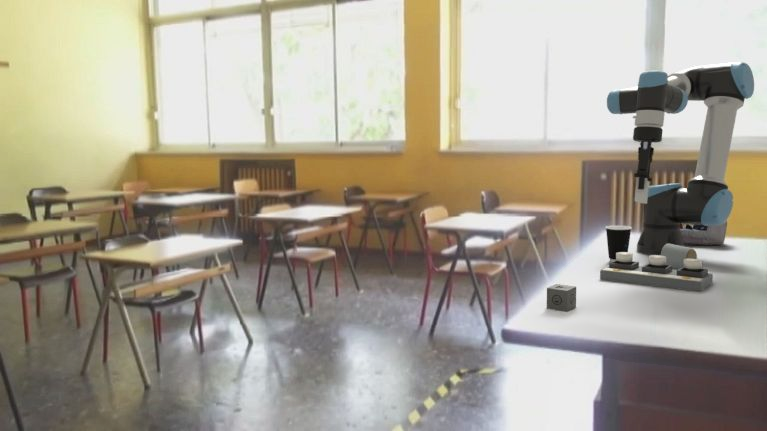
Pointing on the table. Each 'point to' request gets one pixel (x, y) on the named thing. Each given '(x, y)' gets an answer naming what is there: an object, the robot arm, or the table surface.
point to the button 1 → (624, 257)
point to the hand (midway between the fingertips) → (640, 202)
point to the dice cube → (561, 297)
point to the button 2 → (692, 263)
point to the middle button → (657, 260)
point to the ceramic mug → (677, 255)
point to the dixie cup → (617, 240)
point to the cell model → (703, 234)
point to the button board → (657, 275)
